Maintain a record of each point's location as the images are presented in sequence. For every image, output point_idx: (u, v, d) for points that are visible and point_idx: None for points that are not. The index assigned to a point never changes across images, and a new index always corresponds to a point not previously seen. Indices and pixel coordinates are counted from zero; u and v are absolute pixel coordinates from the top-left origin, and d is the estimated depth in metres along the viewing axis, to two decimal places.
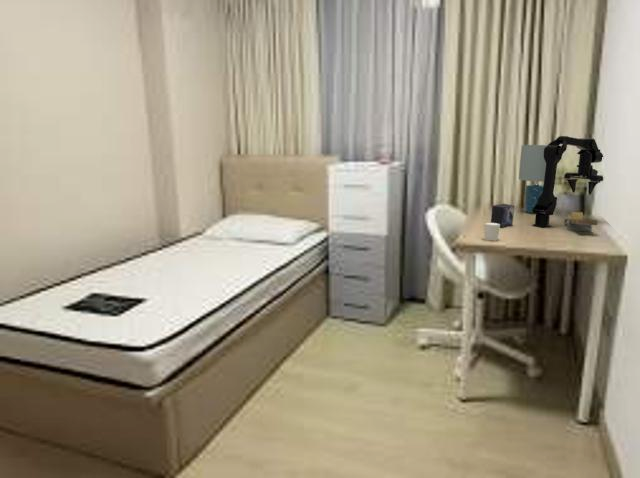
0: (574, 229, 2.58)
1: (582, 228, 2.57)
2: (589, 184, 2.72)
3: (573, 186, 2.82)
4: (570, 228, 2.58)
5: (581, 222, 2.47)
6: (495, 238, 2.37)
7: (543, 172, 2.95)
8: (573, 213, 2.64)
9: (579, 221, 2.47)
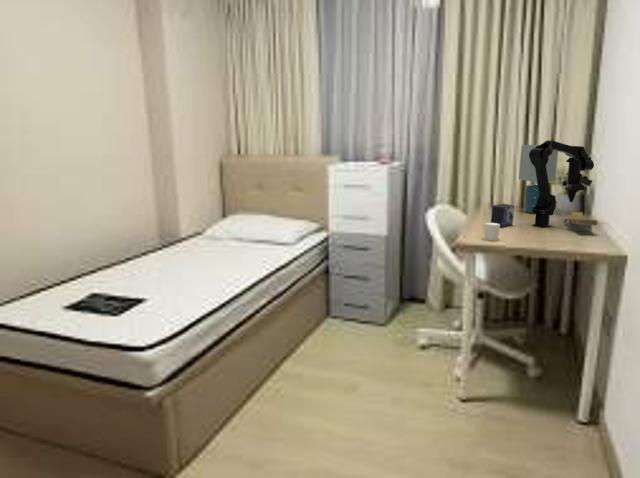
0: (574, 229, 2.58)
1: (582, 228, 2.57)
2: (567, 191, 2.73)
3: None
4: (570, 228, 2.58)
5: (581, 222, 2.47)
6: (495, 238, 2.37)
7: None
8: (573, 213, 2.64)
9: (579, 221, 2.47)
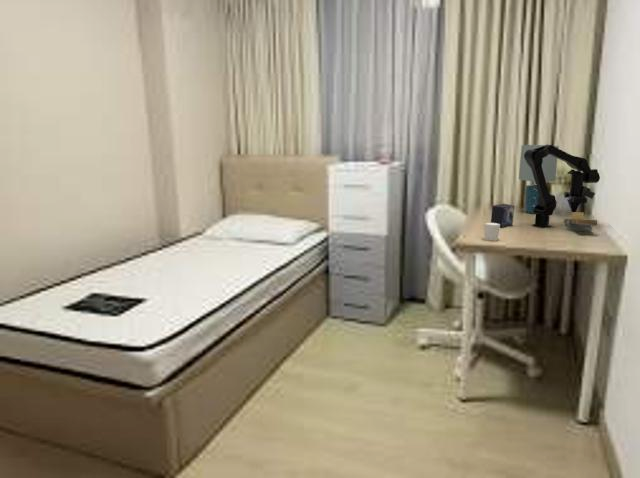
0: (574, 229, 2.58)
1: (582, 228, 2.57)
2: (569, 203, 2.69)
3: None
4: (570, 228, 2.58)
5: (581, 222, 2.47)
6: (495, 238, 2.37)
7: (543, 172, 2.95)
8: (574, 213, 2.63)
9: (579, 221, 2.47)
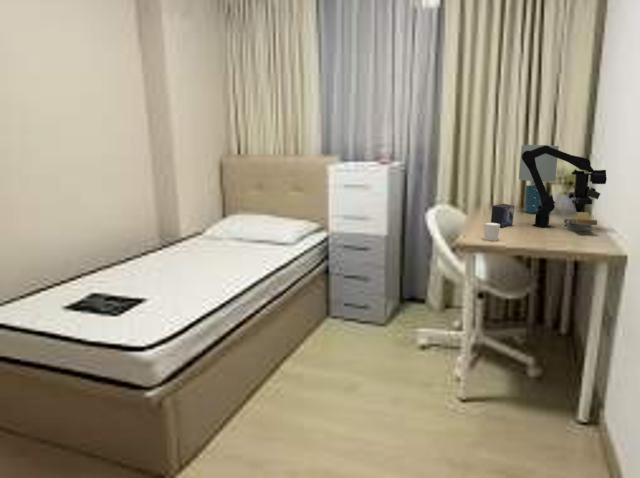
0: (574, 229, 2.58)
1: (582, 228, 2.57)
2: (574, 204, 2.62)
3: None
4: (570, 228, 2.58)
5: (581, 222, 2.47)
6: (495, 238, 2.37)
7: (543, 172, 2.95)
8: (579, 213, 2.56)
9: (579, 221, 2.47)
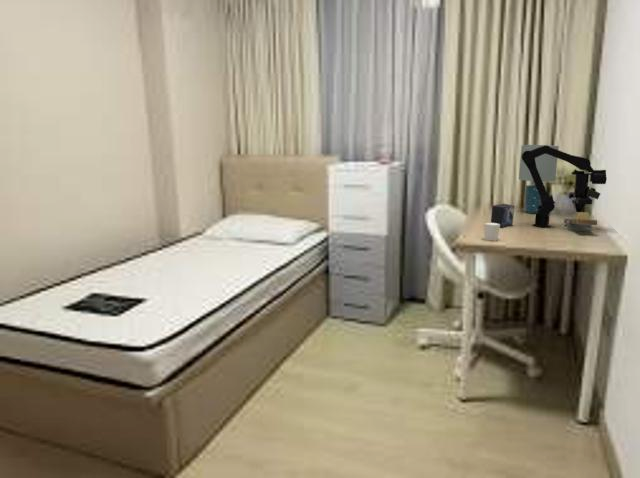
0: (574, 229, 2.58)
1: (582, 228, 2.57)
2: (574, 204, 2.62)
3: None
4: (570, 228, 2.58)
5: (581, 222, 2.47)
6: (495, 238, 2.37)
7: (543, 172, 2.95)
8: (579, 213, 2.56)
9: (579, 221, 2.47)
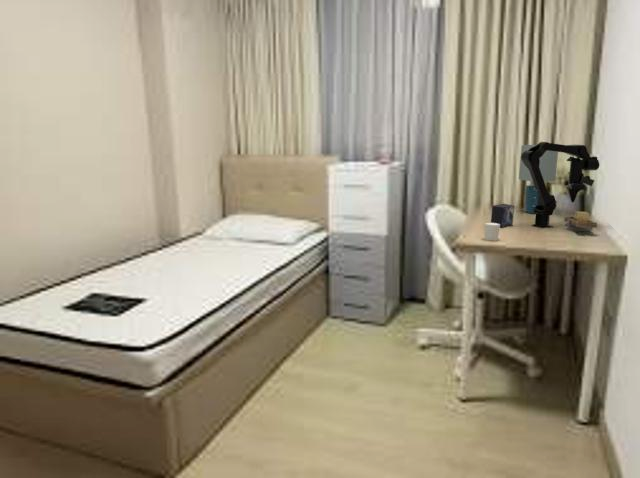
0: (574, 229, 2.58)
1: (582, 228, 2.57)
2: (568, 191, 2.67)
3: None
4: (570, 228, 2.58)
5: (581, 225, 2.47)
6: (495, 238, 2.37)
7: (543, 172, 2.95)
8: (579, 214, 2.56)
9: (579, 224, 2.47)
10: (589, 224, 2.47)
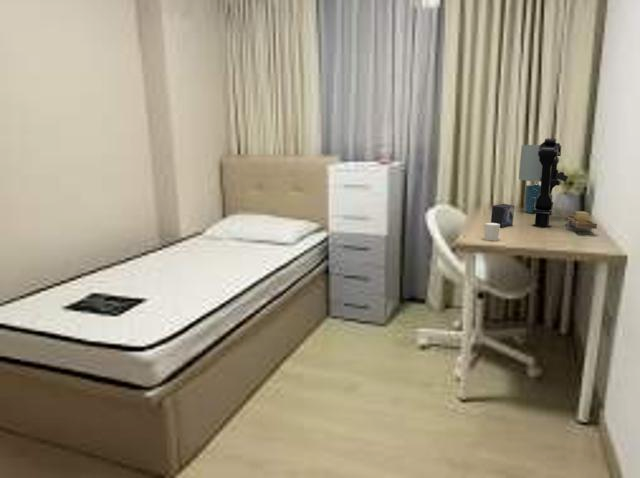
0: (574, 229, 2.58)
1: (582, 228, 2.57)
2: None
3: None
4: (570, 228, 2.58)
5: (581, 226, 2.47)
6: (495, 238, 2.37)
7: None
8: (579, 214, 2.55)
9: (579, 225, 2.47)
10: (589, 225, 2.47)
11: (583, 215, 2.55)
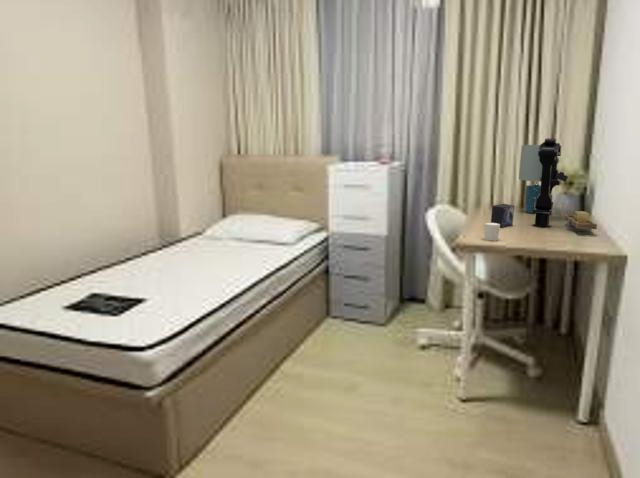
0: (574, 229, 2.58)
1: None
2: None
3: None
4: (570, 228, 2.58)
5: (581, 226, 2.47)
6: (495, 238, 2.37)
7: None
8: (579, 214, 2.55)
9: (579, 225, 2.47)
10: (589, 226, 2.47)
11: (583, 215, 2.55)
